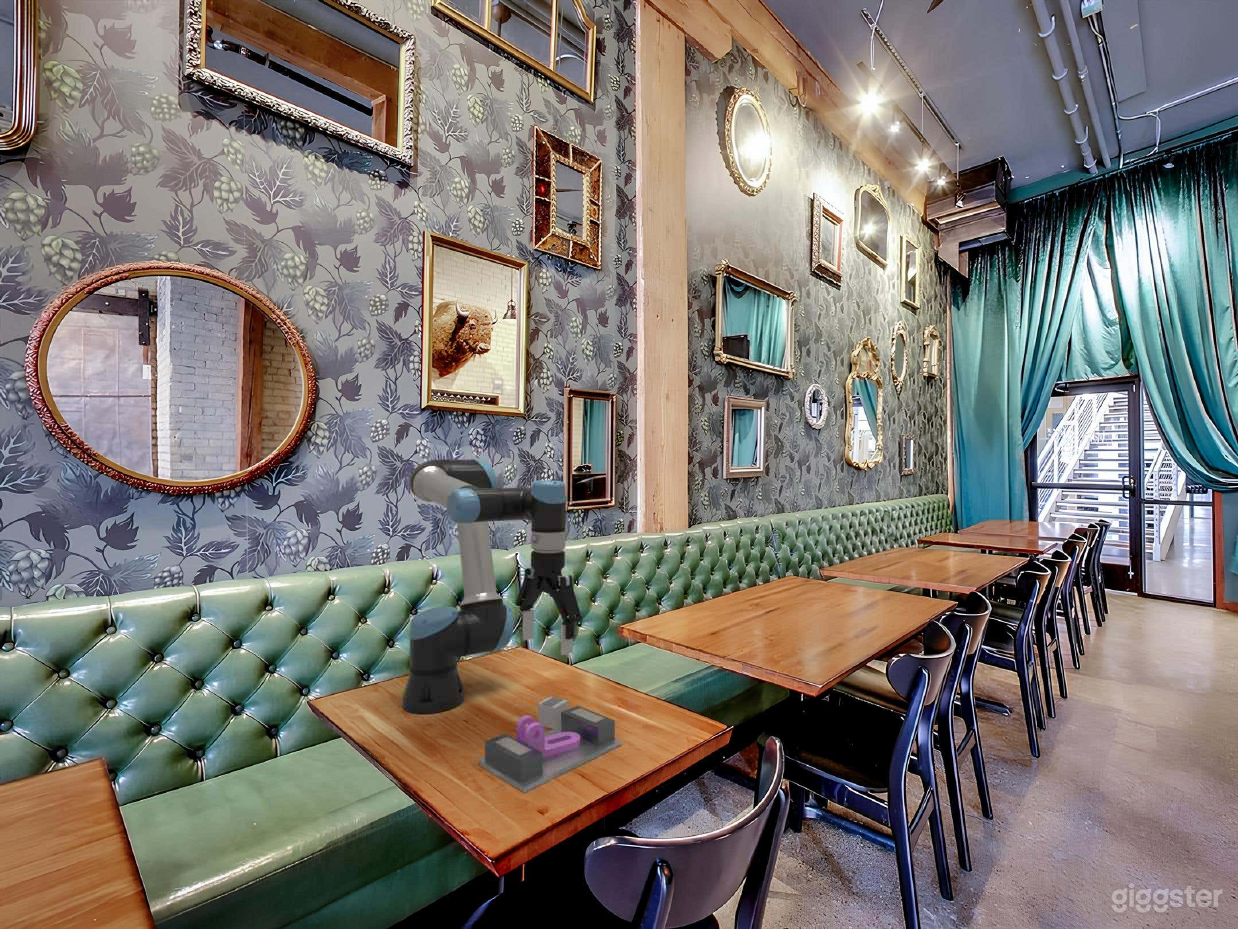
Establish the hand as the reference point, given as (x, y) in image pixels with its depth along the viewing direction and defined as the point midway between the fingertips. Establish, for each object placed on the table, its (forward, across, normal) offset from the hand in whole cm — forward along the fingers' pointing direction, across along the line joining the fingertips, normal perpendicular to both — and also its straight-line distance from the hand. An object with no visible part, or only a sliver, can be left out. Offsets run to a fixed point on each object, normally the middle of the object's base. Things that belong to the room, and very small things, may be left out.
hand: (546, 646), depth 129 cm
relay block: (+21, -5, +6) cm, 22 cm away
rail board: (+20, +7, -4) cm, 22 cm away
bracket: (+19, +7, -4) cm, 21 cm away
